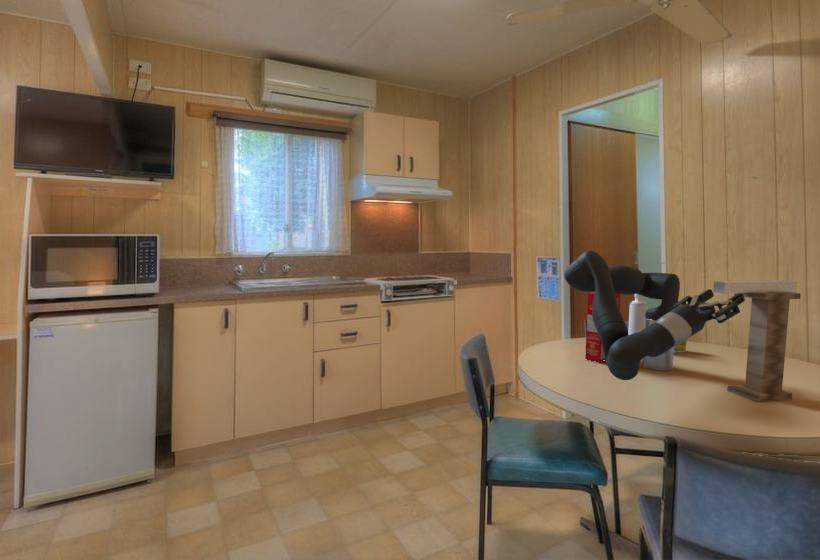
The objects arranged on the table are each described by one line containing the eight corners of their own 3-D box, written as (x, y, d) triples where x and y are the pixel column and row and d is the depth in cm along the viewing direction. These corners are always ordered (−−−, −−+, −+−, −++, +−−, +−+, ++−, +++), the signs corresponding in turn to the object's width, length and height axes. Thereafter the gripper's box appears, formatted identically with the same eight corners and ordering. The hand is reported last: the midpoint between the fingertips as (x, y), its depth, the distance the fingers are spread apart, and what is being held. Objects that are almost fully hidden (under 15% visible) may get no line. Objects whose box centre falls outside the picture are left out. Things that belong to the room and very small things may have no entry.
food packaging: (604, 353, 172) (606, 290, 170) (617, 356, 168) (620, 291, 166) (585, 360, 163) (588, 293, 161) (599, 363, 159) (602, 294, 157)
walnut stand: (756, 401, 121) (764, 294, 118) (727, 390, 130) (734, 290, 127) (791, 398, 123) (800, 293, 121) (760, 388, 132) (768, 289, 129)
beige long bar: (724, 293, 119) (724, 282, 119) (713, 292, 123) (713, 281, 122) (796, 292, 124) (797, 281, 123) (783, 290, 127) (784, 280, 127)
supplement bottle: (675, 348, 180) (677, 325, 180) (688, 351, 176) (690, 328, 175) (667, 350, 178) (668, 327, 177) (680, 353, 173) (681, 329, 172)
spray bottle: (644, 351, 176) (647, 289, 174) (626, 348, 181) (629, 288, 178) (647, 347, 182) (650, 288, 180) (629, 345, 186) (632, 287, 184)
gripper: (660, 333, 116) (707, 303, 118) (707, 345, 102) (759, 311, 104) (650, 308, 115) (697, 278, 117) (695, 318, 101) (748, 283, 103)
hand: (726, 294), depth 111 cm, fingers open, 8 cm apart
